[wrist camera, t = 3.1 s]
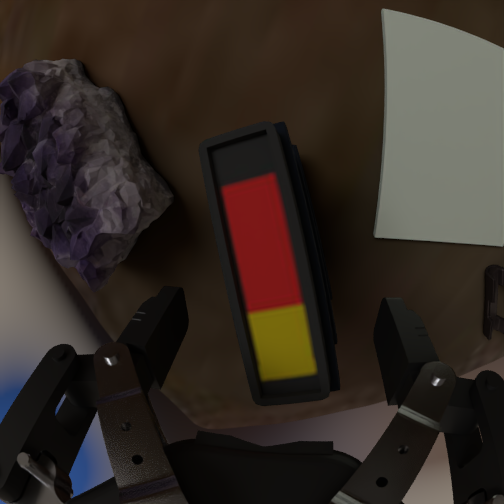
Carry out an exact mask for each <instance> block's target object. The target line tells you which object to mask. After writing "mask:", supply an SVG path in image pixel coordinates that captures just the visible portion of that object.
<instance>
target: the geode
mask: <svg viewBox="0 0 504 504" xmlns="http://www.w3.org/2000/svg"><path fill="white" fill-rule="evenodd" d="M0 99H1V100H2V101H3V102H2V104H1V115H0V141H1V142H2V145H1V158H2V162H1V163H0V174H8V175H11V176H13V179H12V181H11V183H12V184H13V186H12V189H13V190H15V191H17V192H16V193H15V194H14V195H15V196H16V197H17V198H18V199H19V200H20V202H21V204H22V207H23V210H24V211H25V213H26V216H27V220H28V222H29V223H30V225H31V226H32V227H33V229H32V232H31V236H33V237H35V238H37V239H39V240H40V241H42V242H43V244H44V246H45V247H47V248H50V249H52V251H53V254H54V256H55V259H56V260H57V261H58V263H59V264H61V265H62V266H64V267H66V268H69V267H76V269H77V270H78V272H79V274H80V276H81V277H82V279H83V280H85V281H86V282H87V284H88V285H89V287H90V288H91V290H92V291H93V292H96V291H98V290H99V289H101V288H102V287H103V286H105V285H106V284H107V283H108V280H109V277H110V276H111V275H112V273H113V272H114V270H115V268H116V266H117V264H119V263H120V262H121V261H123V260H125V259H126V257H127V256H128V254H129V252H130V251H131V249H132V248H133V246H134V245H135V243H136V242H137V239H138V236H139V235H140V233H141V232H142V230H144V229H146V228H147V227H149V225H150V223H151V222H152V221H153V220H155V219H157V218H159V217H160V216H161V215H162V213H163V212H164V211H165V210H166V209H167V207H168V206H169V205H171V204H172V203H173V202H174V195H173V194H172V192H171V190H170V188H169V186H168V185H167V183H166V181H165V180H164V179H163V178H162V177H161V176H160V175H159V174H158V173H157V172H155V170H154V169H153V168H152V167H151V165H150V164H149V163H148V162H147V161H146V159H145V158H144V157H143V156H142V154H141V150H140V146H139V142H138V138H137V135H136V133H134V132H133V130H132V128H131V125H130V123H129V121H128V119H127V116H126V114H125V110H124V106H123V104H122V102H121V100H120V98H119V96H118V95H117V93H116V92H115V91H114V90H113V89H111V88H109V87H103V88H98V87H96V86H95V85H94V84H93V83H92V82H91V81H90V80H89V79H88V78H87V77H86V75H85V72H84V68H83V64H82V63H81V61H78V60H76V59H72V60H68V59H62V60H59V61H48V60H39V61H38V60H37V59H36V60H34V61H33V62H29V63H27V64H25V65H24V66H23V68H20V69H16V70H15V71H13V72H12V73H10V74H9V75H8V76H7V77H6V78H5V79H4V80H3V81H2V82H1V83H0Z"/></svg>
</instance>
